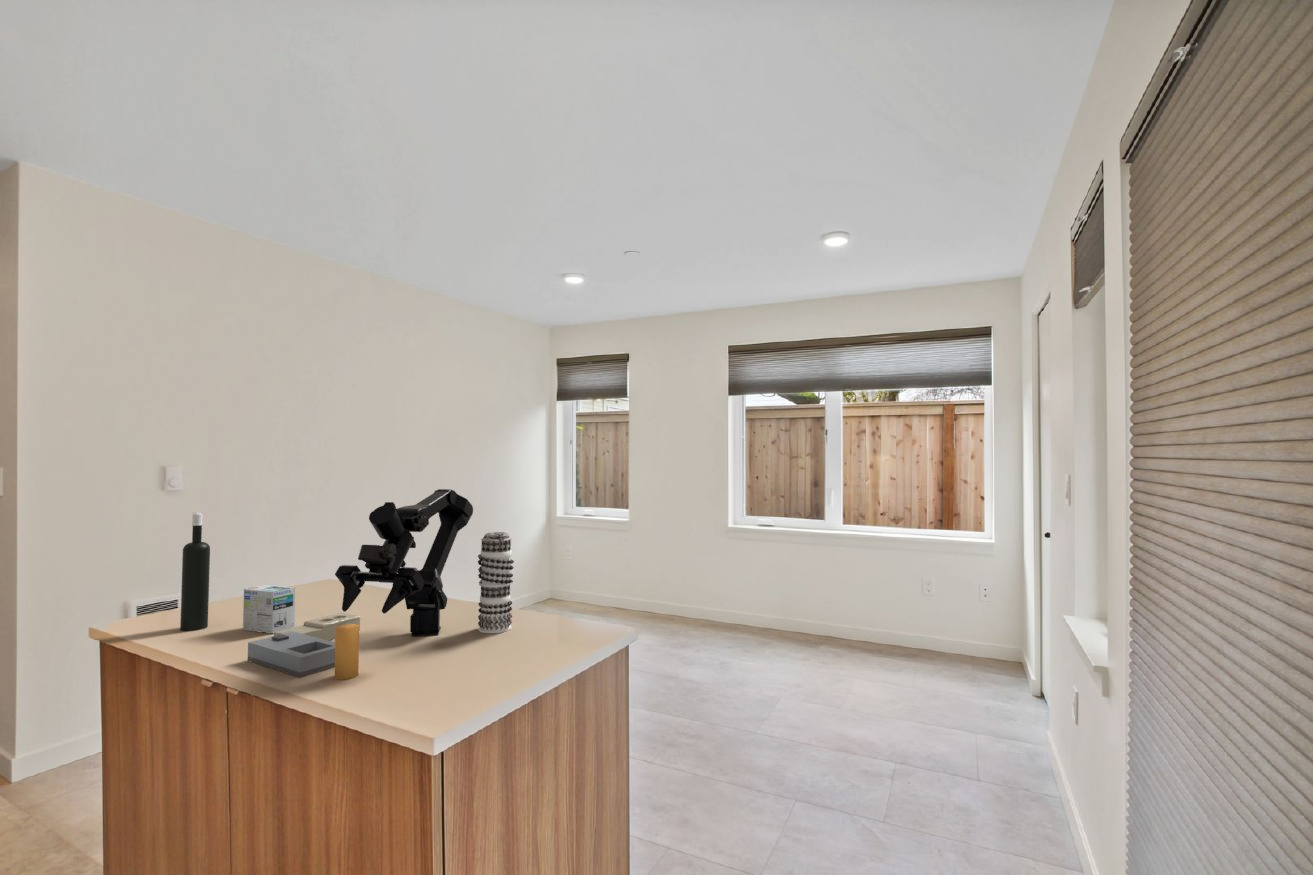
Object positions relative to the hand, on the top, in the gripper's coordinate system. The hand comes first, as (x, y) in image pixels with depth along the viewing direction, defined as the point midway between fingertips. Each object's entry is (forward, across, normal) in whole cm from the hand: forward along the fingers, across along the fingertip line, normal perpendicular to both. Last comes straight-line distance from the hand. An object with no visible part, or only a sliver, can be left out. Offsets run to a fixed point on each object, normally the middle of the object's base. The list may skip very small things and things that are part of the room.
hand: (363, 611), depth 134 cm
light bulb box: (-8, -42, +25) cm, 49 cm away
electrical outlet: (-4, -23, +21) cm, 32 cm away
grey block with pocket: (+8, -16, +9) cm, 20 cm away
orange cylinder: (+12, 0, +5) cm, 13 cm away
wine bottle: (-6, -61, +23) cm, 66 cm away
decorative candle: (-15, +16, +32) cm, 39 cm away
